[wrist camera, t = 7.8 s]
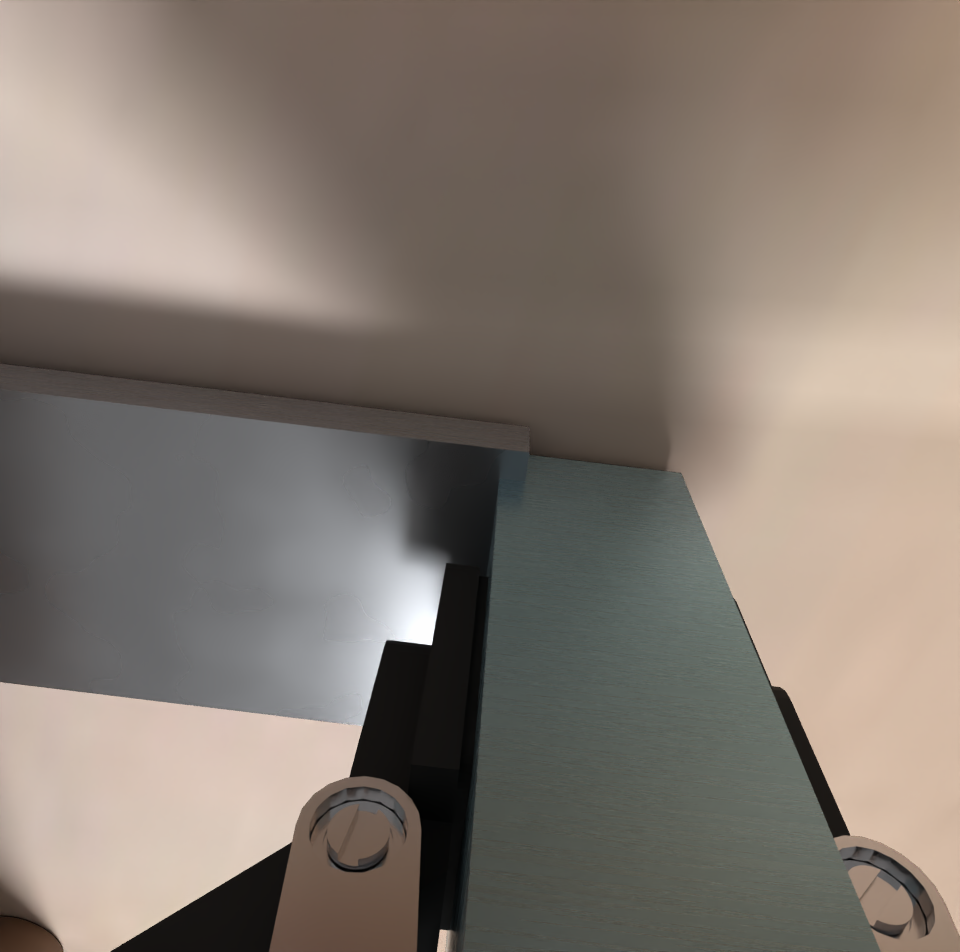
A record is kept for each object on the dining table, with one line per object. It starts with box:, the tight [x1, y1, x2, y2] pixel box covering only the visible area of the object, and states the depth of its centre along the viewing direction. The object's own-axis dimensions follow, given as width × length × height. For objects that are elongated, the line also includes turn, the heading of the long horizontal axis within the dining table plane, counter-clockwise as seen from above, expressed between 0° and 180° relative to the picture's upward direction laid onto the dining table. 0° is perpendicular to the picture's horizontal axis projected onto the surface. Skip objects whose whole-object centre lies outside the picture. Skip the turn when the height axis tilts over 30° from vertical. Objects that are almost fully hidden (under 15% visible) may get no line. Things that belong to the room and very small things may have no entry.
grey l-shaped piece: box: [0, 364, 881, 952], centre depth 9 cm, size 17×6×9 cm, turn 84°
